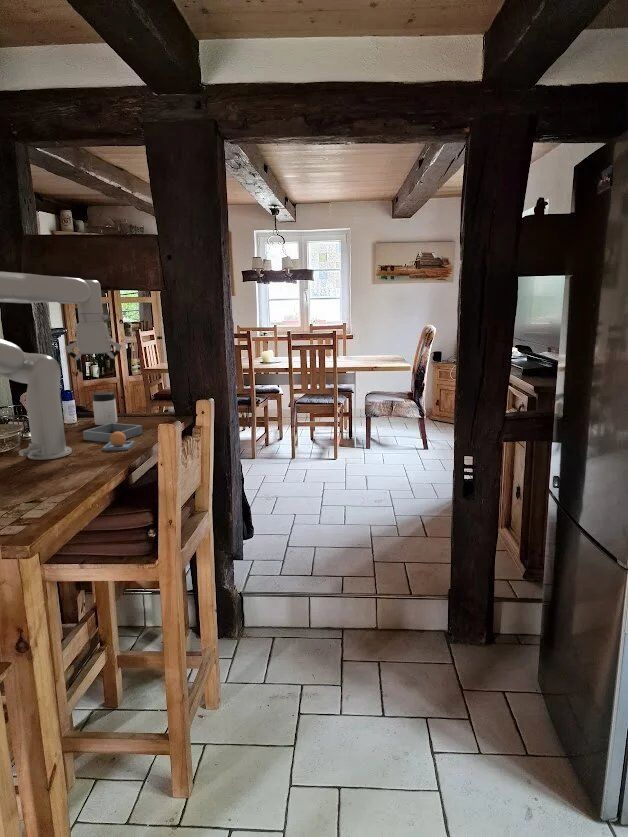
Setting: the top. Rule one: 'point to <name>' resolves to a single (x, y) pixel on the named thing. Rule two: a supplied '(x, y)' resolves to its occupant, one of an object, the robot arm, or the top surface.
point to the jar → (104, 408)
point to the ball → (117, 439)
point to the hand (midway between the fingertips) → (96, 371)
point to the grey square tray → (103, 431)
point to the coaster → (110, 447)
